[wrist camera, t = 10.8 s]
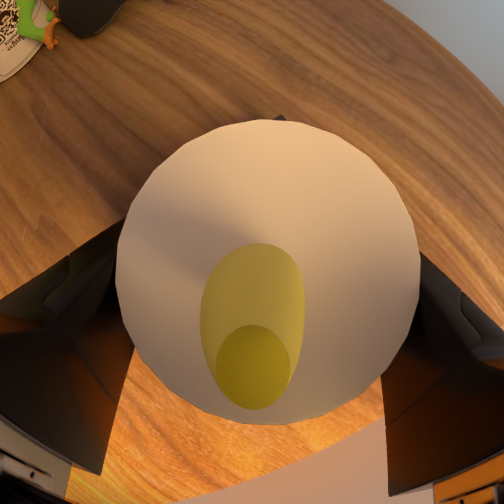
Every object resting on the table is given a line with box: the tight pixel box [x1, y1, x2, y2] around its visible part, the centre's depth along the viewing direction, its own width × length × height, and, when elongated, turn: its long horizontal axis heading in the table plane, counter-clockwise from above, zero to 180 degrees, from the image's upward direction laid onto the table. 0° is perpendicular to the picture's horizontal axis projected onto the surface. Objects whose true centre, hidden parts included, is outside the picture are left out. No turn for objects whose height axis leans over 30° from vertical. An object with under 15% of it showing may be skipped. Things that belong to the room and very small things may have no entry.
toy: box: [16, 0, 62, 50], centre depth 15 cm, size 14×9×10 cm
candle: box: [115, 119, 421, 425], centre depth 9 cm, size 6×6×15 cm
